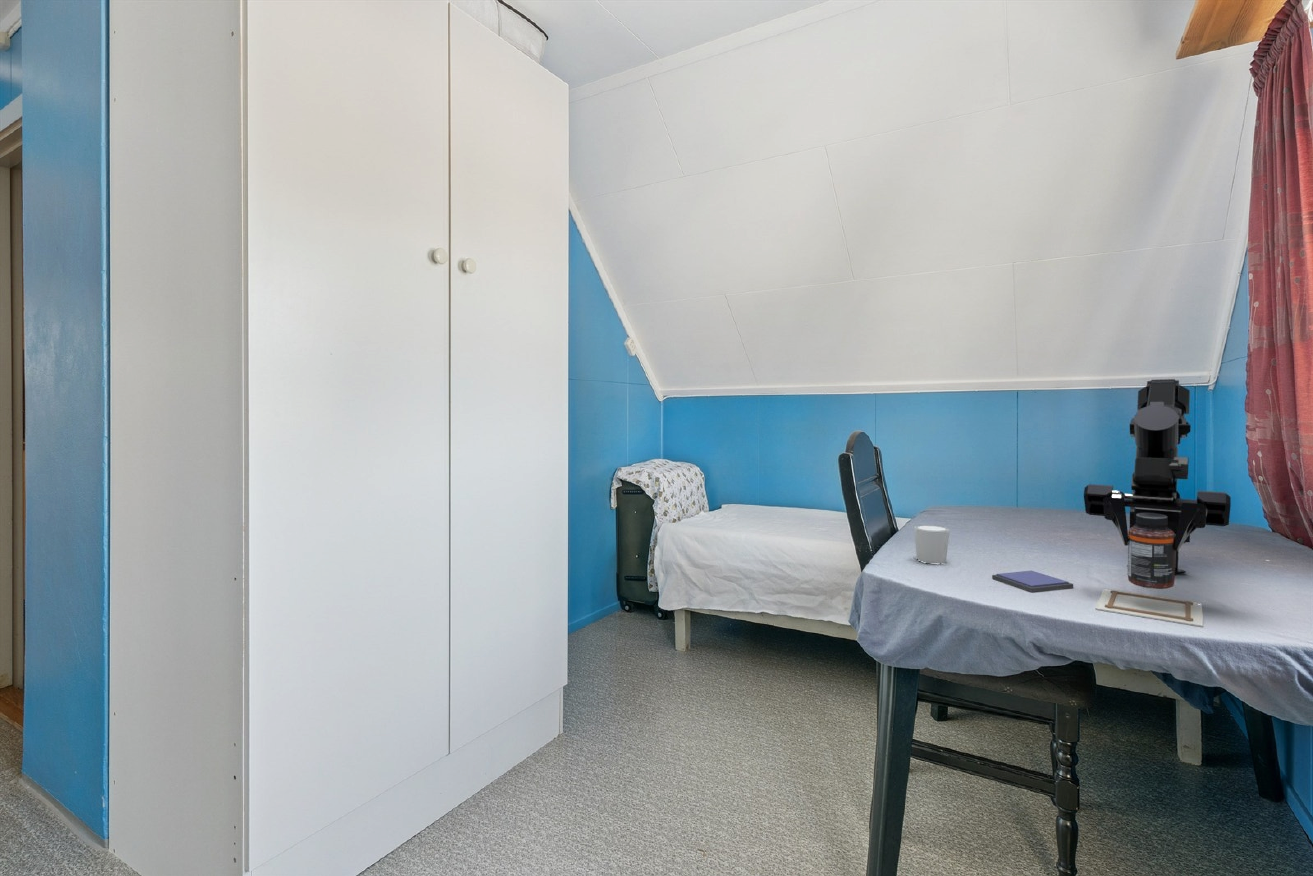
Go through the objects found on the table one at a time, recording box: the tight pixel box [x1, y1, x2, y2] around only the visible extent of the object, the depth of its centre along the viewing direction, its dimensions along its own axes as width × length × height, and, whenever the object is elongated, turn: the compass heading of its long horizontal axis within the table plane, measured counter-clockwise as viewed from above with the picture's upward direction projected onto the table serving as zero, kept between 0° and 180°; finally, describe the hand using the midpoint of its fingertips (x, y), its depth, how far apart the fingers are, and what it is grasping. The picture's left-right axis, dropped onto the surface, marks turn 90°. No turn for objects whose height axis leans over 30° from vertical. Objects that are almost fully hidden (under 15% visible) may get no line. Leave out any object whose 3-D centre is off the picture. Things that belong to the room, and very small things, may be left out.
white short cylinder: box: [913, 524, 951, 564], centre depth 132 cm, size 7×7×7 cm
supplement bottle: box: [1126, 513, 1176, 590], centre depth 101 cm, size 6×6×11 cm
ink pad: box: [991, 570, 1074, 593], centre depth 116 cm, size 9×9×1 cm
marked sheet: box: [1094, 588, 1204, 628], centre depth 102 cm, size 13×13×1 cm
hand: (1150, 546), depth 100 cm, fingers closed on supplement bottle, 6 cm apart
